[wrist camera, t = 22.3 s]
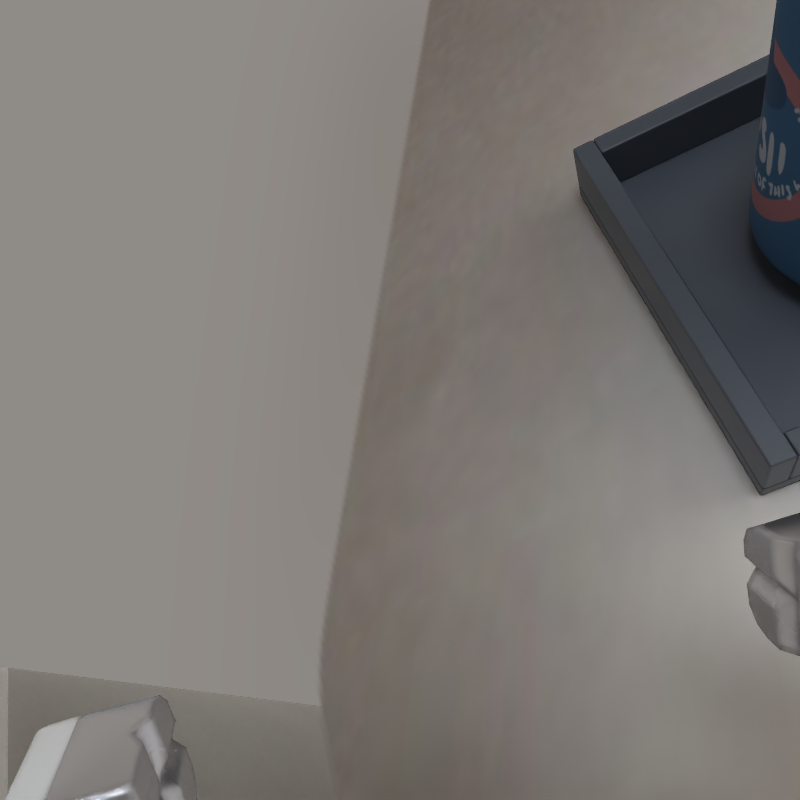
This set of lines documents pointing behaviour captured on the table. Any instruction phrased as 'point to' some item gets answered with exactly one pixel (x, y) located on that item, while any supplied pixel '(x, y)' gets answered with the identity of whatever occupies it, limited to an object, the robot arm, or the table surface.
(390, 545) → the table surface
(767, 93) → the soda can
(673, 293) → the tray
